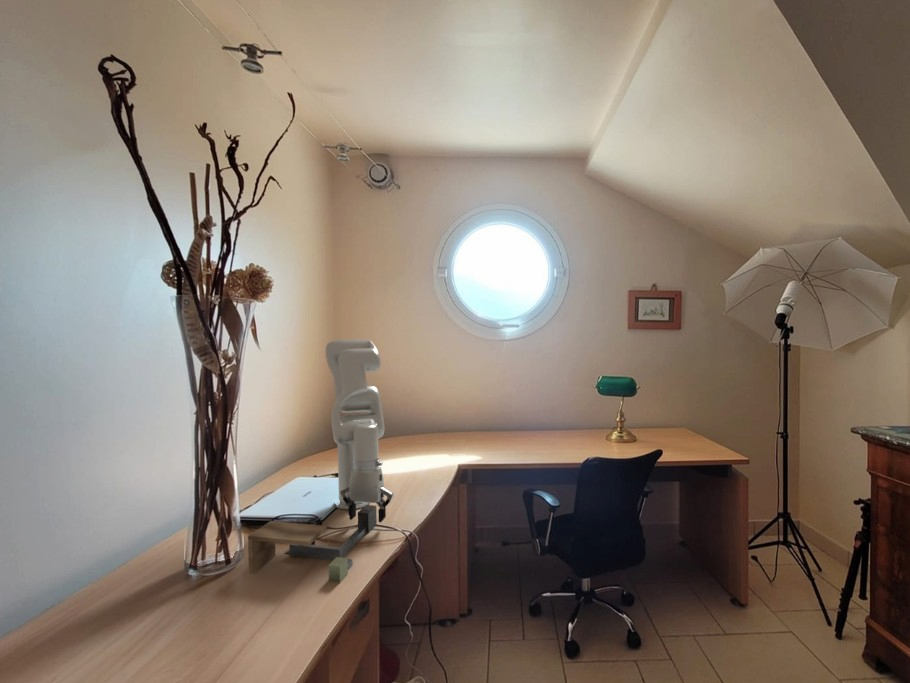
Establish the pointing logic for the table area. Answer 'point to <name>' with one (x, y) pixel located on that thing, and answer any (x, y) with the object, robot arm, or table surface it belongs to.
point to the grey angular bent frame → (365, 525)
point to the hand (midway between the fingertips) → (367, 519)
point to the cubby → (278, 540)
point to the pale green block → (339, 569)
